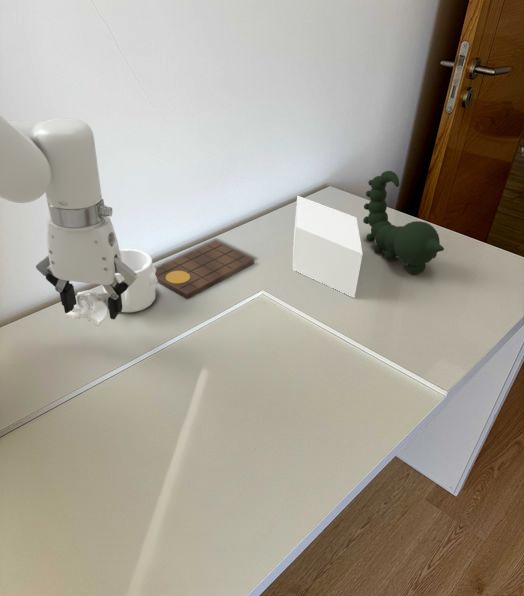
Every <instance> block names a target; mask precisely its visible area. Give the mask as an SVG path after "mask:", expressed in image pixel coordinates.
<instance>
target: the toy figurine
mask: <svg viewBox="0 0 524 596" xmlns="http://www.w3.org/2000/svg"><path fill="white" fill-rule="evenodd" d="M390 182H392V183H393V184H394V186H395V187H397V188H398V187H400V179H399V176H398V175H397V174H396V173H395V172H394V171H392V170H386V171H383V172H381V174H380V175H377V176H375V177H373V178H372V179H368V182H367V184H368V186H370V190H367V191H366V192H365V196H366V197H367V198H369V200H370V201H369V202H368V203H367V202H366V203H365V204H363V209H364V210H367V211H368V215H367V216H365V217H364V218H363V220H362V221H363V223H364V224H366V225H369V226H370V227H371V228H370V233H367V234H366V237H365V239H366V241H367V242H369V243H372V242H374V241H375V244H376V245H375V246H374V248H373V250H374V253H376V254H378V255H380V254H382V253H383V252H384V254H383V255H384V259H385V260H386V261H388V262H391V261H395V260H396V259H397V258H398V259H399V260H400V261H401V262H403V263H404V264H405V265H406V271H407V272H408V273H409V274H413V275H416V274H420V273H422V272H424V271H425V270H426V264H428V263H430V262H431V261H432V260H433V259H436V258H437V255H438V253H439V252H443V251H444V250H445V248H444V246H442V245H441V243H440V241H441V240H440V236H439V234H438V231H437V230H436V228H435V227H434V226H433V225H432V224H430V223H429V222H426V221H420V220H415V221H411V222H409V223H406V224H404V225H402V226H401V225H399V226H396V225H394V224H392V223H391V222H390V221H389V215H388V213H387V208H388V205H387V201H386V198H387V197H388V193H387V190H386V188H387V184H388V183H390Z"/></svg>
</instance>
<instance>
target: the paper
mask: <svg viewBox="0 0 524 596" xmlns="http://www.w3.org/2000/svg"><path fill="white" fill-rule="evenodd" d="M357 218H358V217H357V216H354V215H351V214H348V213H346V212H343V211H340V210H338V209H335V208H332V207H330V206H326V205H324V204H321V203H319V202H316V201H313V200H311V199H308V198H305V197H302V196H300V195H297V196H296V206H295V216H294V227H293V243H294V244H293V243H292V244H293V245H292V246H293V247H292V266H291V267H292V269H291V270H292V271H294V272H296V271H297V272H296V273H298V272H299V274H300V273H301V275H303V276H305V277H307V278H309V279H311V280H313V279H314V280H313V281H315V282H318V283H320V284H322V283H323V284H322V285H324V284H325V286H326V285H327V287H329V288H331V289H333V288H334V289H333V290H335V289H336V290H335V291H337V290H338V291H337V292H339V291H340V292H339V293H341V294H344V293H345V294H344V295H346V294H347V295H346V296H348V295H349V297H350V296H351V297H350V298H352V297H353V298H352V299H355V298H356V292H357V286H358V281H359V275H360V270H361V265H362V260H363V259H362V258H363V249H362V243H361V236H360V231H359V223H358V219H357Z"/></svg>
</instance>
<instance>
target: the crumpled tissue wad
mask: <svg viewBox="0 0 524 596" xmlns="http://www.w3.org/2000/svg"><path fill="white" fill-rule="evenodd" d="M76 296H77V297H76V302H77V304H76V305H74V308H73V309H75V310H76V311H77V312H75V311H74V310H72V311H70V312H68V313H65V316H66V318H71V319H74V320H81V319H87V321H88V322H92V323H93V324H94V326H95V327H100V326H101V325H102V324H103V323H104V322H105V320H106V319H107V317H108V314H109V307H108V298H109V297H110V295H109V294H108V293H105V292H104V291H103V292H101V293H97V292H93V291H92V290H89V289H88V290H87V289H86V290H82V291H78V292H77V293H76ZM82 301H85V302H86V303H84V304H82ZM92 307H93V308H92Z"/></svg>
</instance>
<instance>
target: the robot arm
mask: <svg viewBox="0 0 524 596" xmlns="http://www.w3.org/2000/svg"><path fill="white" fill-rule="evenodd" d="M44 195H45V197H46V202H47V206H48V211H49V212H48V213H49V217H48V218H47V222H46V244H47V245H46V247H47V256H45V257H43V258H42V259H41V260H40V261H39V262H38V263H37V264H36V265H35V269H36V270H37V271H38V272H39V273H40V274H41V275H42V276H43V277H45V279H46V281H47V282H49V283H50V284H51V285H52V286H53V287H54V290H55V291H56V292H57V293H58V294H59V297H60V301H61V305H62V306H63V309H64V313H65V314H67V313H68V312H70V311H74V309H75V308H74V305H76V304H78V302H77V297H76V292H75V287H74V285H73V283H70V282H75V283H76V282H77V283H83V284H93V285H101V286H102V287H103V286H104V288H105V289H106V291H107V292H108V294H109V295H110V297H109V298H108V307H109V310H108V314H109V318H110V319H111V320H116V318H117V316H118V315H119V314H121V313H122V312H121V311H122V299H121V294H122V293H123V292H125V291H126V290H127V288H128V287H129V286H130V285H131V284H132V283H133V282H134V281H135V280H136V278H137V274H136V273H135V272H134V271H133V270H131V269H130V268H129V267H128V266H126V265H125V264H124V263H123V262H122V261H121V256H120V250H121V249H120V246H119V242H118V237H117V234H116V232H115V228H114V224H113V222H112V220H111V217H112V216H113V208H112V207H110V206H108V205H105V201H104V199H103V196H102V195H103V194H102V188H101V179H100V173H99V166H98V157H97V149H96V144H95V136H94V133H93V129H92V128H91V126H90V124H88V123H86V122H85V121H83V120H80V119H76V118H70V117H69V118H68V117H61V118H60V117H58V118H57V117H56V118H51V119H47V120H44V121H23V120H21V121H20V120H7V119H5V118H4V117H3V116H2V115H1V114H0V198H1V199H4V200H6V201H8V202H12V203H18V204H25V203H31V202H34V201H36V200H38V199H40V198H41V197H42V196H44ZM115 273H119V274H121V275H122V276H123V277H124V278H125V279H124V280H123V281H122V282H121V283H120V282H119V280H118V279H117V277H116V276H115Z"/></svg>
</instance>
